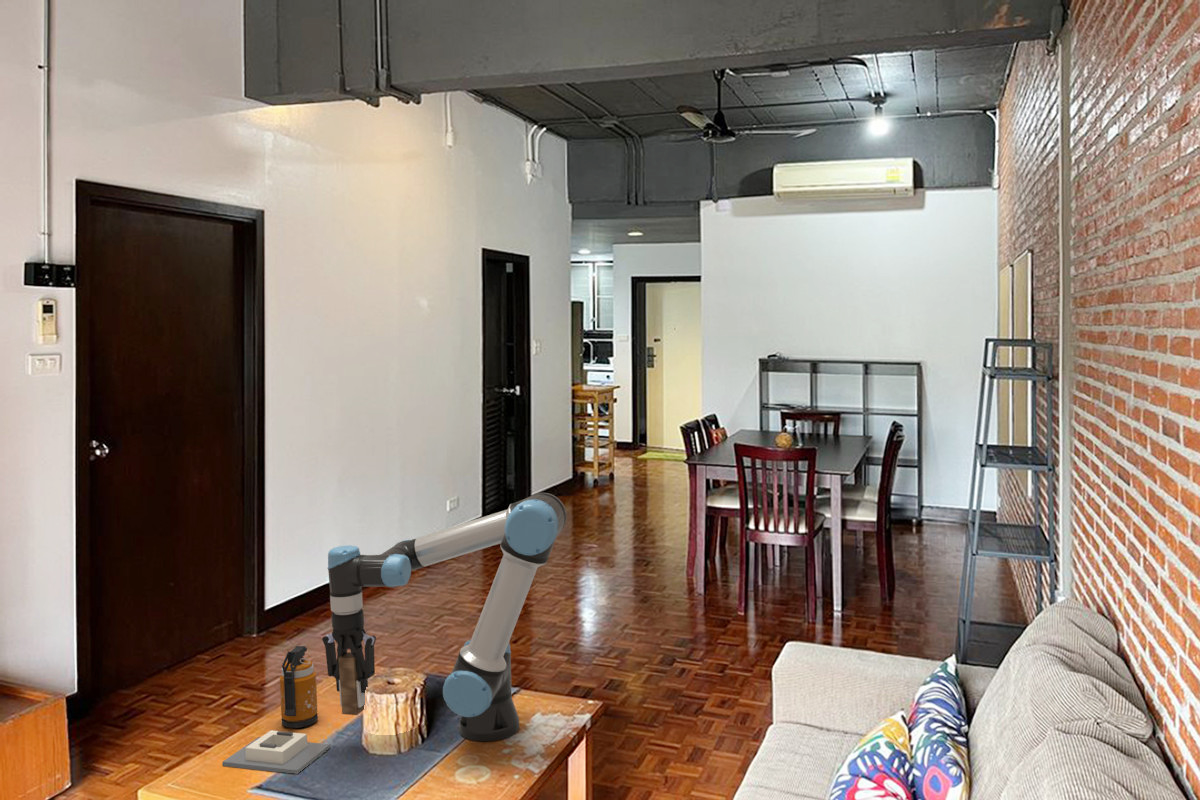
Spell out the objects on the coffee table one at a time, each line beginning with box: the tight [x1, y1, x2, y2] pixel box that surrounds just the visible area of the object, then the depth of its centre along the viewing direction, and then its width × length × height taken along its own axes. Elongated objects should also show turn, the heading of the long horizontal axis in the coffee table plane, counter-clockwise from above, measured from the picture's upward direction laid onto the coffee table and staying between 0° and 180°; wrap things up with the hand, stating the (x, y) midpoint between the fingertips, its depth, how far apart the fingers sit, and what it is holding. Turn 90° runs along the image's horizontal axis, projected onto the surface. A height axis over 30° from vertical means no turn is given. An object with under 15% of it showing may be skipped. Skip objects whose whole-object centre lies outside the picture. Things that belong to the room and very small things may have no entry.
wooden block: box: [338, 651, 365, 716], centre depth 228 cm, size 4×4×14 cm
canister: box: [279, 645, 319, 729], centre depth 243 cm, size 9×11×20 cm
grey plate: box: [221, 730, 331, 775], centre depth 225 cm, size 20×14×5 cm
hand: (353, 704), depth 229 cm, fingers closed on wooden block, 4 cm apart
